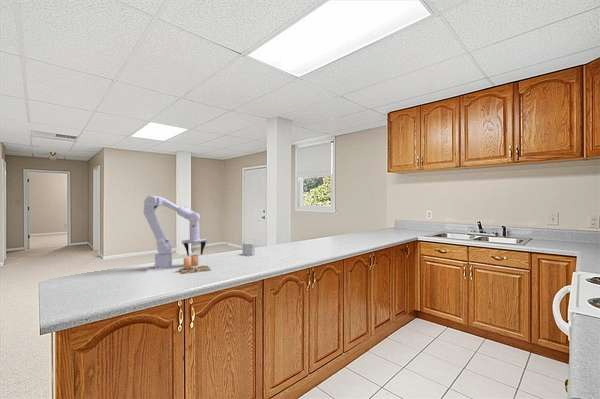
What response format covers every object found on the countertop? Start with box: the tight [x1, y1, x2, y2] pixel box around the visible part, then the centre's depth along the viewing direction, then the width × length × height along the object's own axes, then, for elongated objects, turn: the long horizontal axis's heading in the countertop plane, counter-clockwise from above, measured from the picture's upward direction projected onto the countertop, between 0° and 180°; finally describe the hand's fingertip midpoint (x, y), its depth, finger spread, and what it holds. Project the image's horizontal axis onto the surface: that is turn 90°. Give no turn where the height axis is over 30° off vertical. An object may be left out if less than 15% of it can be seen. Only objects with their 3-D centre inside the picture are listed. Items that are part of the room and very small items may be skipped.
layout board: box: [179, 264, 212, 275], centre depth 162 cm, size 16×12×2 cm
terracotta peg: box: [190, 254, 199, 267], centre depth 172 cm, size 4×4×7 cm
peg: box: [183, 257, 192, 271], centre depth 160 cm, size 4×4×7 cm
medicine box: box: [241, 242, 256, 257], centre depth 206 cm, size 8×4×9 cm, turn 71°
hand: (194, 255), depth 172 cm, fingers open, 7 cm apart
